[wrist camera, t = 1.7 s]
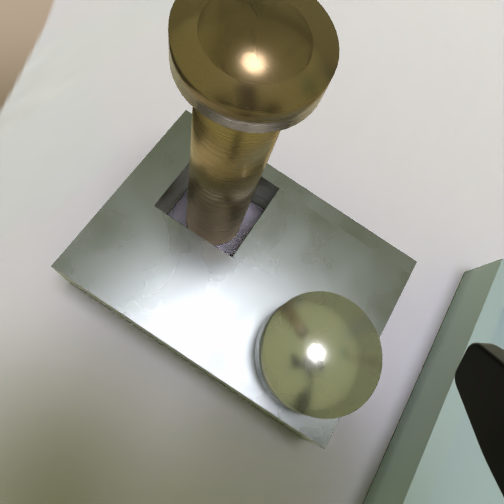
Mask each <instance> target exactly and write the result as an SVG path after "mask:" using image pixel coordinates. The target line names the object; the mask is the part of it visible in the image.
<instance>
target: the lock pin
mask: <svg viewBox="0 0 504 504" xmlns="http://www.w3.org/2000/svg"><path fill="white" fill-rule="evenodd" d="M168 33H169V62H170V69H171V73H172V76H173V79H174V81H175V83H176V85H177V87H178V89H179V90H180V92H181V94H182V95H183V96H184V98H185V99H186V100H187V101H188V102H189V103H190V104H191V105H192V106H193V110H192V128H191V145H190V162H189V180H188V197H187V214H186V221H187V226H188V229H190V230H191V231H193V232H194V233H196V234H197V235H199V236H200V237H202V238H203V239H205V240H206V241H208V242H209V243H211V244H212V245H220V244H224V243H226V242H228V241H230V240H231V239H232V238H233V237H234V236H235V235H236V234H237V232H238V230H239V228H240V226H241V223H242V221H243V218H244V216H245V214H246V211H247V209H248V207H249V204H250V202H251V199H252V197H253V195H254V192H255V190H256V188H257V185H258V183H259V180H260V178H261V176H262V173H263V171H264V169H265V166H266V164H267V162H268V159H269V157H270V154H271V152H272V150H273V147H274V145H275V143H276V140H277V138H278V135H279V133H280V131H281V130H283V129H287V128H289V127H292V126H294V125H296V124H298V123H299V122H301V121H302V120H304V119H305V118H306V117H307V116H309V115H310V114H311V113H312V112H313V110H314V109H315V108H316V107H317V105H318V104H319V102H320V100H321V98H322V97H323V95H324V93H325V91H326V89H327V87H328V85H329V83H330V81H331V79H332V77H333V75H334V73H335V71H336V68H337V65H338V60H339V41H338V37H337V33H336V30H335V27H334V25H333V22H332V21H331V19H330V17H329V15H328V14H327V12H326V11H325V9H324V8H323V7H322V6H321V4H320V3H319V2H318V1H317V0H175V2H174V4H173V6H172V9H171V12H170V16H169V27H168Z"/></svg>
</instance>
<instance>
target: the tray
mask: <svg viewBox="0 0 504 504" xmlns="http://www.w3.org/2000/svg"><path fill="white" fill-rule="evenodd" d="M476 342H477V343H491V344H494V345H497V346H498V347H500V348H502V349H504V259H500V260H497V261H495V262H492V263H489V264H486V265H483V266H481V267H478V268H475V269H472V270H469V271H467V272H465V273H464V275H463V278H462V280H461V282H460V285H459V287H458V289H457V291H456V294H455V296H454V298H453V300H452V303H451V305H450V307H449V310H448V312H447V314H446V316H445V319H444V321H443V323H442V325H441V328H440V330H439V332H438V335H437V337H436V339H435V341H434V344H433V346H432V348H431V351H430V353H429V355H428V357H427V360H426V362H425V364H424V366H423V369H422V371H421V373H420V376H419V378H418V380H417V382H416V385H415V387H414V389H413V391H412V394H411V396H410V398H409V401H408V403H407V405H406V407H405V410H404V412H403V414H402V417H401V419H400V421H399V423H398V426H397V428H396V430H395V432H394V435H393V437H392V439H391V442H390V444H389V446H388V448H387V451H386V453H385V455H384V458H383V460H382V462H381V464H380V467H379V469H378V471H377V473H376V476H375V478H374V480H373V483H372V485H371V487H370V489H369V492H368V494H367V496H366V498H365V501H364V503H363V504H504V497H503V495H502V493H501V491H500V489H499V487H498V485H497V483H496V481H495V479H494V477H493V475H492V473H491V471H490V469H489V467H488V464H487V462H486V460H485V458H484V456H483V453H482V451H481V449H480V446H479V444H478V441H477V439H476V436H475V433H474V431H473V428H472V426H471V423H470V420H469V418H468V415H467V413H466V410H465V407H464V405H463V402H462V400H461V397H460V395H459V392H458V389H457V387H456V384H455V372H456V369H457V367H458V365H459V363H460V361H461V359H462V358H463V356H464V354H465V352H466V350H467V348H468V346H469V345H471V344H472V343H476Z"/></svg>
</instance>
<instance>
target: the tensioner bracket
mask: <svg viewBox="0 0 504 504" xmlns="http://www.w3.org/2000/svg"><path fill="white" fill-rule="evenodd" d="M191 128H192V114H191V113H190V112H188V111H187V110H186V111H185V112H184V113H183V114H182V115H181V117H180V118H179V119H178V120H177V121H176V122H175V123H174V125H173V126H172V127H171V128H170V129H169V130H168V132H167V133H166V134H165V135H164V136H163V137H162V139H161V140H160V141H159V142H158V143H157V144H156V145H155V147H154V148H153V149H152V150H151V151H150V152H149V154H148V155H147V156H146V157H145V158H144V159H143V161H142V162H141V163H140V164H139V165H138V166H137V167H136V169H135V170H134V171H133V172H132V173H131V174H130V176H129V177H128V178H127V179H126V180H125V181H124V183H123V184H122V185H121V186H120V187H119V188H118V189H117V191H116V192H115V193H114V194H113V195H112V196H111V198H110V199H109V200H108V201H107V202H106V203H105V205H104V206H103V207H102V208H101V209H100V210H99V212H98V213H97V214H96V215H95V216H94V217H93V218H92V220H91V221H90V222H89V223H88V224H87V225H86V227H85V228H84V229H83V230H82V231H81V232H80V234H79V235H78V236H77V237H76V238H75V239H74V240H73V242H72V243H71V244H70V245H69V246H68V247H67V249H66V250H65V251H64V252H63V253H62V254H61V256H60V257H59V258H58V259H57V260H56V261H55V262H54V264H53V265H52V266H51V267H53V268H54V269H55V270H56V271H57V272H58V273H59V274H61V275H62V276H63V277H64V278H65V279H66V280H68V281H69V282H70V283H72V284H73V285H75V286H76V287H78V288H79V289H81V290H82V291H84V292H85V293H87V294H88V295H90V296H91V297H93V298H94V299H96V300H97V301H99V302H100V303H102V304H103V305H105V306H106V307H108V308H109V309H111V310H112V311H114V312H115V313H117V314H118V315H120V316H121V317H123V318H124V319H126V320H127V321H129V322H130V323H132V324H133V325H135V326H136V327H138V328H139V329H141V330H142V331H144V332H145V333H147V334H148V335H150V336H151V337H153V338H154V339H156V340H157V341H159V342H160V343H162V344H163V345H165V346H166V347H168V348H169V349H171V350H172V351H174V352H175V353H177V354H178V355H180V356H181V357H183V358H184V359H186V360H187V361H189V362H190V363H192V364H193V365H195V366H196V367H198V368H199V369H201V370H202V371H204V372H205V373H207V374H208V375H210V376H211V377H213V378H214V379H216V380H217V381H219V382H220V383H222V384H223V385H224V386H226V387H227V388H229V389H230V390H232V391H233V392H235V393H236V394H238V395H239V396H241V397H242V398H244V399H245V400H247V401H248V402H250V403H251V404H253V405H254V406H256V407H257V408H259V409H260V410H262V411H263V412H265V413H266V414H268V415H269V416H271V417H272V418H274V419H275V420H277V421H278V422H280V423H281V424H283V425H284V426H286V427H287V428H289V429H290V430H292V431H293V432H295V433H296V434H298V435H299V436H301V437H302V438H304V439H306V440H308V441H310V442H312V443H314V444H316V445H318V446H320V447H322V448H324V449H325V447H326V445H327V443H328V441H329V439H330V437H331V435H332V433H333V431H334V429H335V427H336V425H337V423H338V421H339V418H340V417H342V416H345V415H348V414H350V413H352V412H354V411H356V410H357V409H358V408H360V407H361V406H362V405H363V404H364V403H365V402H366V401H367V400H368V399H369V397H370V396H371V395H372V393H373V392H374V390H375V388H376V386H377V383H378V381H379V378H380V374H381V369H382V349H381V344H380V339H379V337H380V335H381V333H382V331H383V329H384V327H385V325H386V323H387V321H388V319H389V317H390V315H391V313H392V311H393V309H394V307H395V305H396V303H397V301H398V299H399V297H400V295H401V293H402V291H403V289H404V287H405V285H406V283H407V281H408V279H409V277H410V275H411V273H412V270H413V268H414V266H415V264H416V261H415V260H413V259H412V258H410V257H409V256H407V255H406V254H404V253H403V252H401V251H400V250H398V249H397V248H395V247H393V246H392V245H390V244H389V243H387V242H386V241H384V240H383V239H381V238H380V237H378V236H377V235H375V234H374V233H372V232H371V231H369V230H368V229H366V228H365V227H363V226H362V225H360V224H359V223H357V222H355V221H354V220H352V219H351V218H349V217H348V216H346V215H345V214H343V213H342V212H340V211H339V210H337V209H336V208H334V207H333V206H331V205H330V204H328V203H327V202H325V201H324V200H322V199H321V198H319V197H317V196H316V195H314V194H313V193H311V192H310V191H308V190H307V189H305V188H304V187H302V186H301V185H299V184H298V183H296V182H295V181H293V180H292V179H290V178H289V177H287V176H286V175H284V174H282V173H281V172H279V171H278V170H276V169H275V168H273V167H272V166H270V165H269V164H266V166H265V169H264V171H263V173H262V176H261V178H260V180H259V183H258V185H257V188H256V190H255V192H254V195H253V197H252V199H251V201H253V202H254V203H256V204H257V205H259V206H260V207H262V208H263V209H265V211H264V212H263V214H262V215H261V217H260V218H259V220H258V221H257V223H256V224H255V225H254V227H253V228H252V230H251V231H250V233H249V234H248V236H247V237H246V239H245V240H244V241H243V243H242V244H241V246H240V247H239V249H238V250H237V252H236V253H235V255H234V256H233V258H232V257H230V256H229V255H227V254H226V253H224V252H223V251H221V250H220V249H218V248H217V247H215V246H214V245H212V244H211V243H209V242H208V241H206V240H205V239H203V238H202V237H200V236H199V235H197V234H196V233H194V232H193V231H191V230H190V229H188V228H187V227H185V226H184V225H182V224H181V223H179V222H178V221H176V220H174V219H173V218H171V217H170V216H168V215H167V214H168V213H169V211H170V210H171V209H172V208H173V206H174V205H175V204H176V203H177V201H178V200H179V199H180V197H181V196H182V195H183V194H184V192H185V191H186V190H187V189H188V180H189V162H190V145H191Z"/></svg>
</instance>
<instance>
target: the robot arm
mask: <svg viewBox="0 0 504 504" xmlns="http://www.w3.org/2000/svg"><path fill="white" fill-rule="evenodd" d="M455 384H456V387H457V389H458V392H459V395H460V397H461V400H462V402H463V405H464V407H465V410H466V413H467V415H468V418H469V420H470V423H471V426H472V428H473V431H474V433H475V436H476V439H477V441H478V444H479V446H480V449H481V451H482V453H483V456H484V458H485V460H486V462H487V464H488V467H489V469H490V471H491V473H492V475H493V477H494V479H495V481H496V483H497V485H498V487H499V489H500V491H501V493H502V495H503V497H504V349H502V348H500V347H498V346H497V345H494V344H491V343H477V342H476V343H472V344H471V345H469V346H468V348H467V350H466V352H465V354H464V356H463V358H462V359H461V361H460V363H459V365H458V367H457V369H456V372H455Z"/></svg>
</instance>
